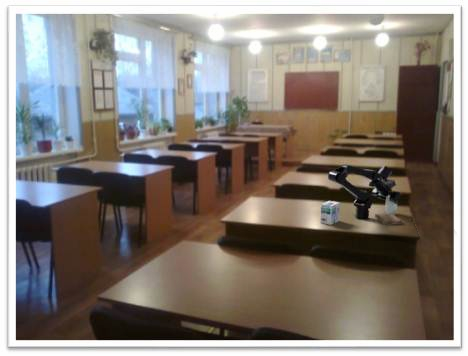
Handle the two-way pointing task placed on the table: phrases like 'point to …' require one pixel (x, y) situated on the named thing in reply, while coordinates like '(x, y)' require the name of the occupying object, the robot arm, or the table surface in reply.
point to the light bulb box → (330, 212)
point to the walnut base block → (388, 219)
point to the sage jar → (390, 207)
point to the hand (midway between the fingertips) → (393, 202)
